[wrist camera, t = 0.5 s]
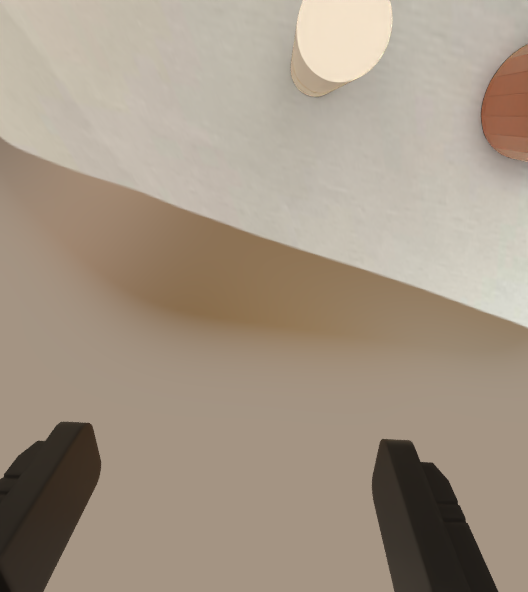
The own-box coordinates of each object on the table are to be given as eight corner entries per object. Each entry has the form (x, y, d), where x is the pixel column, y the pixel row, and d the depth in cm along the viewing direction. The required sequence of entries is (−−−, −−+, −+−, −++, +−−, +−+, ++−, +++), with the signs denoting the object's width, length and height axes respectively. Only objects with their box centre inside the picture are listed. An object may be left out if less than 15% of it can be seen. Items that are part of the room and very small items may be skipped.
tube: (332, 103, 32) (370, 94, 18) (284, 87, 31) (284, 66, 18) (351, 44, 30) (408, -15, 16) (300, 27, 29) (314, -47, 16)
